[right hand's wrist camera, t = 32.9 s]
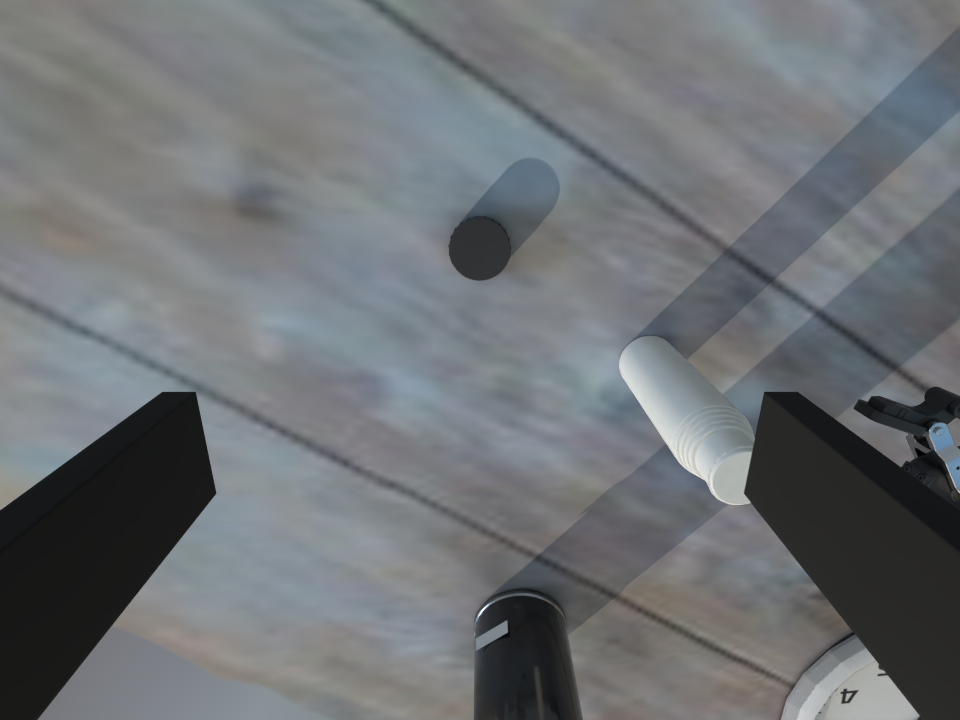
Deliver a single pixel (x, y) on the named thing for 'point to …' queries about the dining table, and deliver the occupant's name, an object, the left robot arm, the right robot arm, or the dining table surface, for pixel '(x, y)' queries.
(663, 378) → the bottle
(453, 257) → the cap
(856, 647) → the wall clock
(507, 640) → the left robot arm
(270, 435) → the dining table surface
